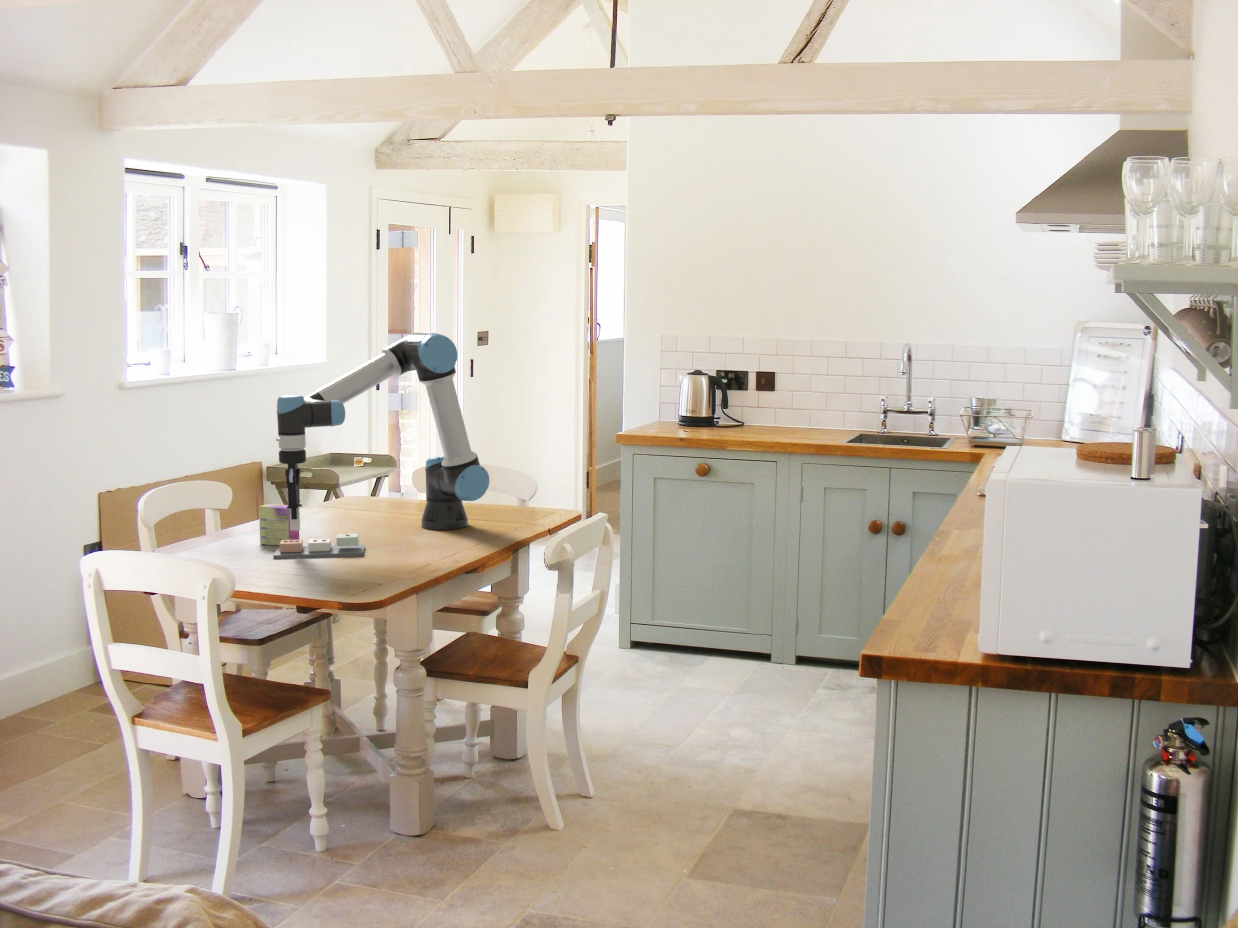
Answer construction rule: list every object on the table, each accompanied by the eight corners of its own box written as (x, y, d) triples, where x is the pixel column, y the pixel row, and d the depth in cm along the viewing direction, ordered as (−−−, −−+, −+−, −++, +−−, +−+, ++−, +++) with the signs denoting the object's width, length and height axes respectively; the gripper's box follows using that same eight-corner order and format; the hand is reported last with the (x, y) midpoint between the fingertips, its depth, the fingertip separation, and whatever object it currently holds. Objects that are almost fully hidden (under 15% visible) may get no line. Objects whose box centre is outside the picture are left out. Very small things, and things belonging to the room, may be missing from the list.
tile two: (331, 546, 352) (330, 537, 352) (329, 550, 347) (329, 541, 346) (310, 547, 351) (309, 538, 351) (308, 551, 346) (308, 542, 345)
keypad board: (364, 547, 357) (364, 544, 357) (362, 555, 345) (362, 552, 345) (278, 550, 353) (278, 547, 353) (273, 558, 341) (273, 555, 341)
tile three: (303, 547, 351) (302, 538, 351) (301, 551, 345) (301, 542, 345) (282, 548, 350) (281, 539, 350) (279, 552, 344) (279, 543, 344)
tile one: (358, 541, 354) (358, 532, 353) (357, 545, 348) (357, 536, 347) (337, 542, 353) (337, 533, 352) (336, 546, 347) (336, 537, 346)
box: (300, 543, 364) (298, 505, 362) (289, 546, 358) (287, 508, 357) (271, 541, 367) (269, 503, 365) (259, 544, 362) (258, 506, 360)
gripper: (281, 446, 350) (284, 526, 353) (276, 452, 337) (279, 534, 340) (307, 446, 351) (310, 525, 354) (303, 451, 338) (306, 533, 341)
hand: (295, 529), depth 347 cm, fingers closed
